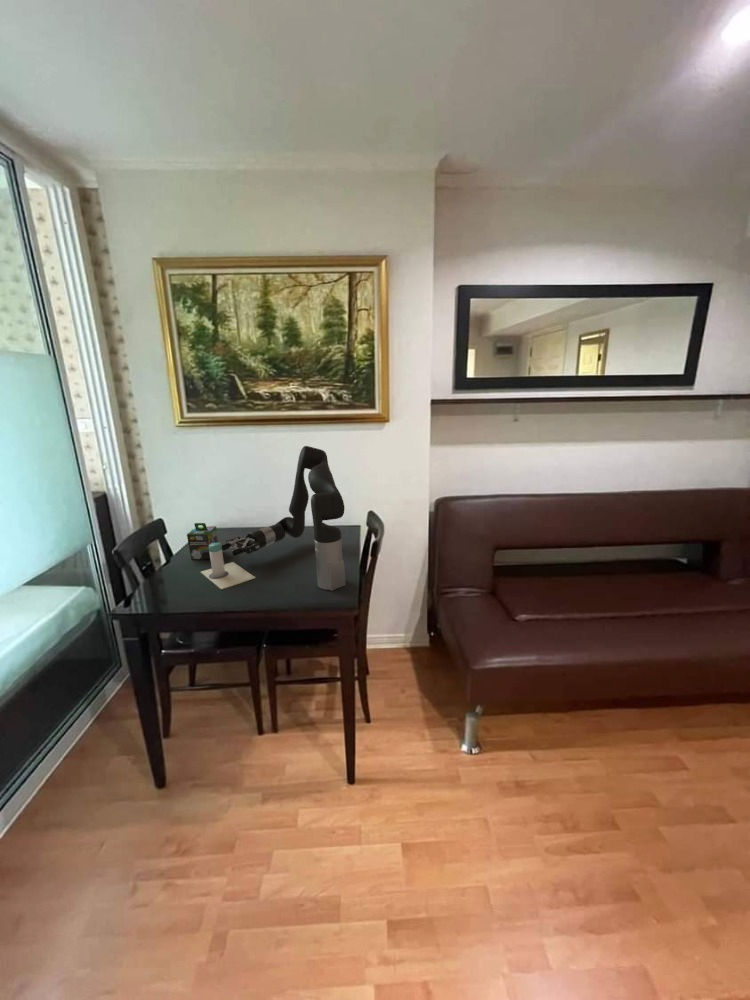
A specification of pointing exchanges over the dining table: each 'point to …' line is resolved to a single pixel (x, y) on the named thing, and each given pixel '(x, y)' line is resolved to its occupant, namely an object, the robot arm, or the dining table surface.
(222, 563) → the white bottle
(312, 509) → the robot arm
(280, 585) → the dining table surface
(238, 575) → the paper
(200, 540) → the chalk box
